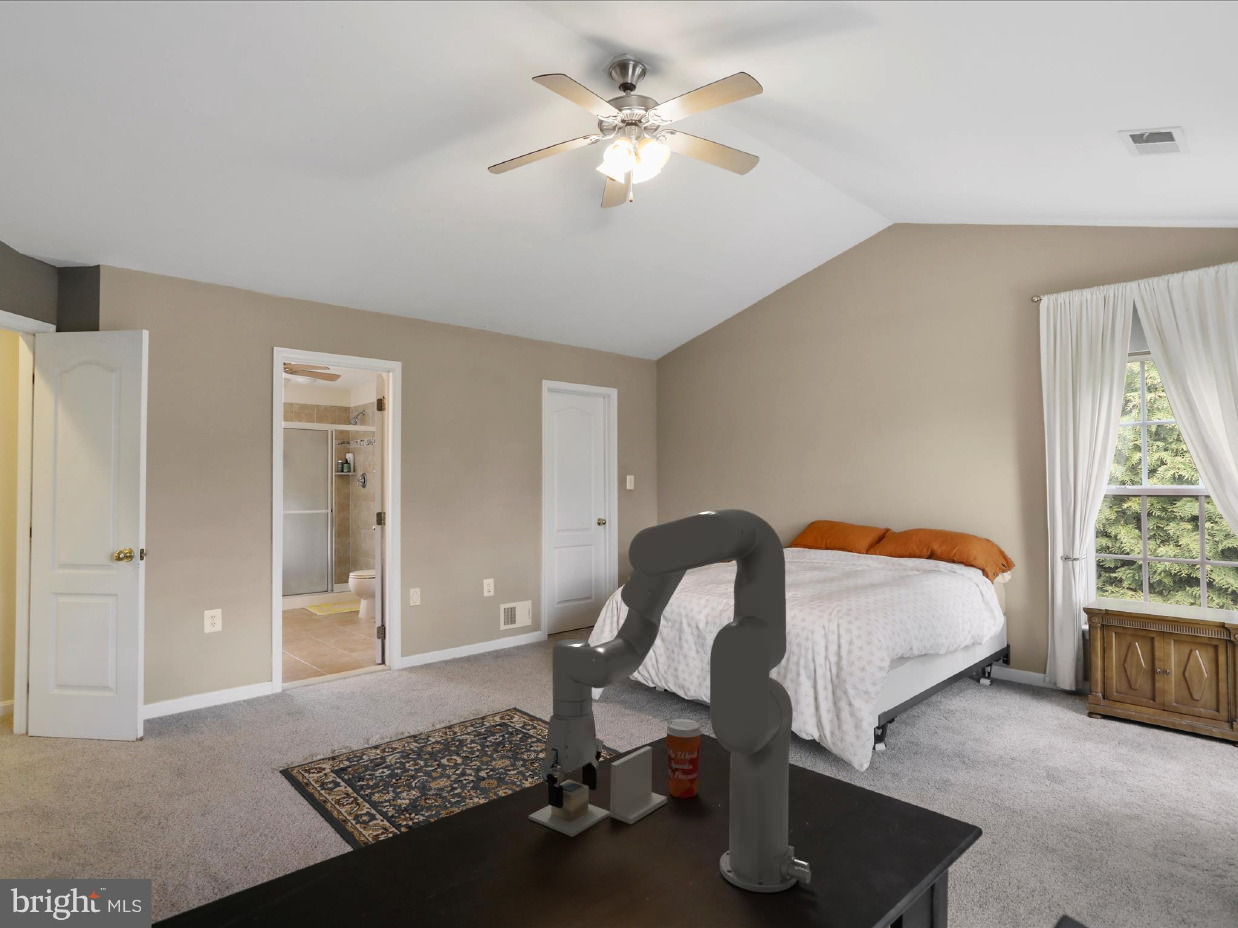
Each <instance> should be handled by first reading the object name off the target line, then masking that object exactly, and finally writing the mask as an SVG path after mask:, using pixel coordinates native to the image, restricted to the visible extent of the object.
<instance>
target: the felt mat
mask: <svg viewBox="0 0 1238 928" xmlns="http://www.w3.org/2000/svg"><path fill="white" fill-rule="evenodd" d="M609 816H610V811H609V810H606V809H605V808H604V809H603V808H601V807H598V806H595V805H593V804H590V803H588V813H587V814H585V815H583V816H581V817H580V818H578V819H576V820H574V821H572V822H569V821H566V820H564V819H561V818H559V817H556V816H554V815H551V805H549V804H548V805H547V806H544V807H543V808H541V809H539V810H537V811H535V812H533V813H531V814H529V815H528V819H529V820H531V821H534V822H535V823H538V824H541V825H542V826H546V827H548V828H550V829H552V830H555V831H557V832H560V833H562V834H565V835H567V836H569V837H571V838H573V837H575V836H576V835H579V834H580V833H581V832H583V831H585V830H587V829H588V828H590V827H592V826H594V825H596V824H597V823H599V822H601V821H603V820H604V819H607V818H608V817H609Z"/></svg>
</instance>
